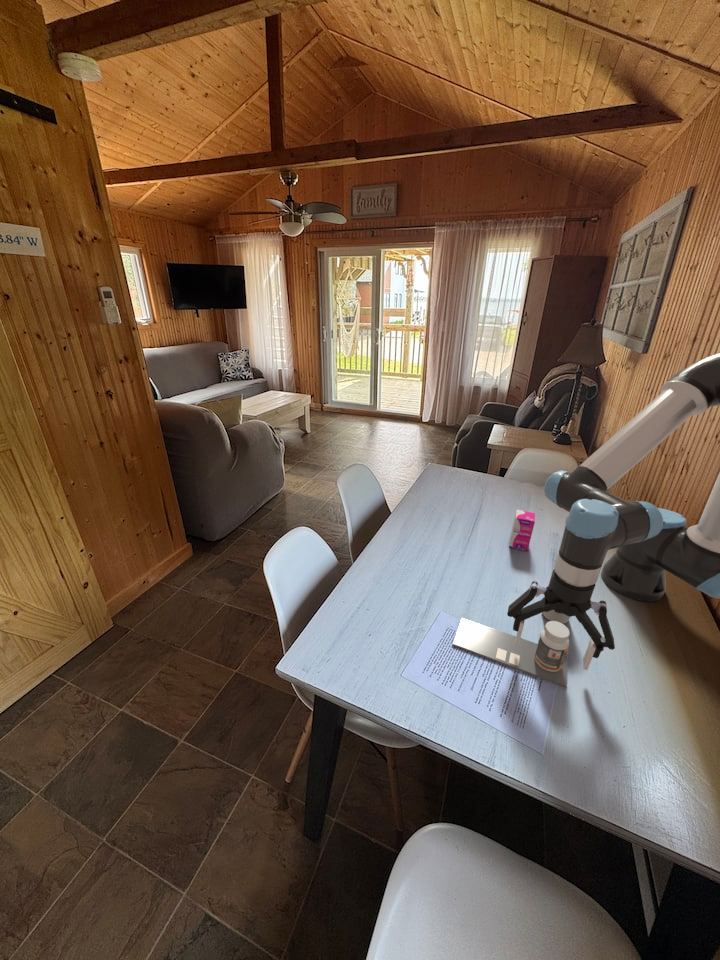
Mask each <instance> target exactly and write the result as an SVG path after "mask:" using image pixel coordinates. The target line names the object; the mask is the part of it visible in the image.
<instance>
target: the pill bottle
mask: <svg viewBox="0 0 720 960" xmlns="http://www.w3.org/2000/svg"><path fill="white" fill-rule="evenodd" d="M570 633H571V632H570V630H569V628H568V627H567V626H566V625H565V623H564V624H562V623H560V622H557V621H550V620H548V621H547V622H546V623H545V626H544V629H542V631H541V632H540V634H539V638H538V641H537V648H536V651H535V656H534V657H535V661H536V663H537V664H538V665H539V666H540V667H541V668H543V669H544V670H547V671H550V672H556V671H559V670H560V669H561V668H562V665H563V662H564V659H565V656H566V654H568V653H567V652H568V650H569V646H570V640H569V639H570V635H571V634H570Z"/></svg>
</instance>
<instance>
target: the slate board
mask: <svg viewBox="0 0 720 960" xmlns="http://www.w3.org/2000/svg"><path fill="white" fill-rule="evenodd" d="M516 636H517V635H513V634H510V633H507V632H504V631H502V630H498V629H495V628H493V627H490V626H486V625H484V624H481V623H478V622H476V621H472V620H469V619H466V618H464V617H461V619H460V623H459V626H458V628H457V631H456V634H455V636H454V639H453V642H452V644H451V646H452V647H455V648H458V649H461V650H463V651H466V652H468V653H471V654H474V655H476V656H479V657H482V658H484V659H487V660H490V661H493V662H495V663H498V664H501V665H504V666H506V667H508V668H512V669H513V670H517V671H519V672H522V673H525V674H527V675H530V676H532V677H535V678H538V679H541V680H543V681H545V682H547V683H548V682H549V683H551V684H554V685H557V686H559V687H561V688H565V689H567V686H568V653H566V656H565V659H564V662H563V665H562V668H561V669H560V670H559V671H556V672H550V671H547V670H544V669H543V668H541V667H540V666H539V665H538V664H537V663H536V661H535V657H534V656H535V651H536V648H537V644H538V642H533V641H530V640H527V639H525V638H520V642H519V646H517V645H515V641H516Z"/></svg>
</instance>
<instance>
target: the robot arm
mask: <svg viewBox="0 0 720 960" xmlns="http://www.w3.org/2000/svg"><path fill="white" fill-rule="evenodd" d="M659 390H660V393H659V394H658V395H657V396H656V397H655V398H653V400H652V401H650V403H648V404H646V405H645V407H643V408H642V409H641V410H640V411H639V412H638V413H637V414H636V415H634V417H633V418H631V419H630V420H629V421H628V422H627V423H626V424H625V425H624V426H622V427H621V428H620V429H619V430H618V431H617V432H616V433H615V434H614V435H612V436H611V437H610V438H609V439H608V440H607V441H605V442H604V443H603V444H602V445H601V446H600V447H599V448H598V449H597V450H595V451H594V452H593V453H592V454H591V455H590V456H588V458H586V459H585V460H584V461H583V462H582V463H581V464H579V465H578V466H577V467H576V468H575V469H574V470H572V472H571V471H567V470H562V469H561V470H558V471H556V472H553V473H552V474H550V476H548V478H547V480H546V482H545V484H544V487H543V492H544V495H545V497H546V498H547V499H548V500H549V501H550V502H552V503H554V504H555V505H556V506H557V507H559V508H560V509H563V510H565V511H566V512H568V516H567V517H566V520H565V525H564V531H563V535H562V538H561V542H560V546H559V549H558V552H557V554H556V555H557V556H556V559H555V561H554V562H555V563H554V566H553V569H552V572H551V577H550V579H549V582H550V583H549V582H548V585H547V586H546V587H543V586H541V585H539V583H538V582H537V581H535V580H534V581H532V582H531V583H530V586H529V588H528V589H527V590H526V591H524V592H523V593H522V594H521V595H520V596H518V597H517V598H516V599H515V600H514V601H513V602H512V603H510V604H509V605H508V608H507V612H506V615H507V616H508V617H511V618H513V619H514V621H513V626H512V631H514V632H517V633H516V635H515V636H516V641H515V645H517V646H519V642H520V638H521V637H522V633H523V631H524V630H523V629H524V625H525V620H528V619H531V618H532V617H534V616H537V615H539V614H543V613H542V612H548V611H551V610H554V611H555V612H556V613H561V614H565V615H567V616H569V617H570V618H572V617H575V619H577V621H578V623H580V624H581V626H582V627H583V628H584V630H585V632H586V633H587V635H588V636H589V638H590V640H589V642H588V645H587V648H586V650H585V653H584V656H583V659H582V666H583V667H582V669H583V670H585V671H588V670H589V667H590V665H591V663H592V659H593V658H595V659H599V657H600V654H601V653H602V652H603V651H604V649H605V648H607V649H609V650H614V649H615V648H616V647H615V646H616V645H615V638H614V634H613V632H612V629H611V625H610V622H609V617H608V609H607V602H606V601H605V600H600V601H599V602H597V601H592V600H591V599H592V596H593V594H594V591H595V587H596V583H597V581H598V578H599V576H600V575H601V578H602V580H603V582H604V583H605V584H606V585H607V586H608V587H610V589H612V590H613V591H615V592H617V593H618V594H620V595H623V596H624V597H627V598H630V599H632V600H638V601H641V602H656V601H659V600H660V599H662V598H663V597H664V595H665V592H666V589H667V582H666V581H667V580H666V579H667V576H666V573H667V572H668V573H670V574H672V575H674V576H675V577H677V578H679V579H680V580H681V581H684V582H685V583H687V584H688V585H690V586H692V587H693V588H695V590H696V591H700V592H702V593H703V594H705V595H708V597H711V598H713V599H720V472H719V473H718V475H717V477H716V480H715V483H714V485H713V487H712V490H711V492H710V495H709V496H708V497H709V498H708V499H707V502H706V504H705V507H704V509H703V511H702V514H701V516H700V519H699V521H698V524H695V525H691V526H689V527H686V526H687V519H686V517H684V516H683V515H682V514H680V513H678V512H676V511H672V510H669V509H665V508H661V507H657V506H656V505H654V504H653V503H651V502H648V501H644V500H643V501H642V500H634V501H626V500H625V499H623V498H621V497H619V496H617V495H615V494H612V493H611V492H608V491H607V490H608V489H610V488H611V487H612V486H613V485H614V484H615V483H617V482H618V481H619V480H620V479H622V478H623V477H624V476H625V475H626V474H627V473H628V472H630V470H631V469H632V468H634V467H635V466H636V465H637V464H638V463H639V462H641V461H642V460H643V459H644V458H645V457H647V456H648V454H650V453H651V452H652V451H653V450H655V448H657V446H659V445H660V444H661V443H662V442H664V441H665V440H666V439H667V438H668V437H669V436H670V435H671V434H672V433H674V432H675V431H676V430H677V429H679V428H680V427H681V426H682V425H683V424H684V423H686V421H687V420H689V419H690V418H691V417H692V416H699V415H701V414H703V413H704V412H706V411H707V410H708V409H709V408H711V407H715V406H716V407H717V406H720V351H719V352H717V353H714V354H711V355H707V356H706V357H704V358H701V359H699V360H696V361H695V362H693V363H691V364H689V365H688V366H686V367H684V368H683V369H681V370H679V371H678V372H676V373H675V374H674V375H672V376H671V377H670V378H669V379H668V380H667V381H666V382H664V383H663V384H662V385H661V387H660V389H659ZM613 549H616V551H615V553H614V554H613V555H612V556H611V557H610V558H609V559H608V560H607V561H606V562H605V561H604V560H605V558H606V555H607V552H608V551H610V550H613ZM604 562H605V563H604ZM602 566H603V567H602ZM666 571H667V572H666ZM600 573H601V574H600ZM540 595H544V596H543V597H542V598H541V599H540V600H538V601H536V602H534V603H531V604H529V603H530V602H532V601H533V600H534V598H537V597H540ZM528 604H529V605H528ZM591 609H592V610H593V612H594V613H595V614H596V616H598V620H599V624H600V628H601V630H602V633H600V631H599V630H598V628H597V627H596V625H595V624H594V622H593V621H592V619H591V617H590V616H589V615H588V611H589V610H591ZM602 634H603V636H604V637H603V636H602Z"/></svg>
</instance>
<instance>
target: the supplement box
mask: <svg viewBox="0 0 720 960" xmlns="http://www.w3.org/2000/svg"><path fill="white" fill-rule="evenodd" d="M535 522H536V513H535V512H532V511H526V510H522V509H521V510H520V509H516V510H515V514H514V519H513V523H512V527H511V531H510V535H509V543H508V547H509V548H513V549H517V550H521V551H525V552H528V551H529V546H530V542H531V538H532V535H533V531H534V526H535V524H536V523H535Z"/></svg>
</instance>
